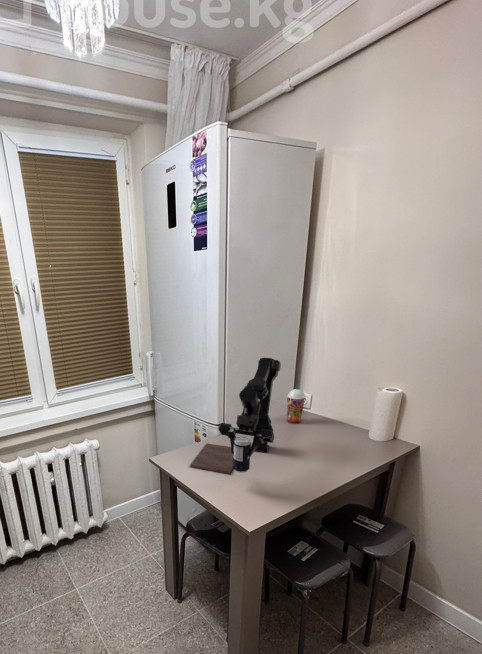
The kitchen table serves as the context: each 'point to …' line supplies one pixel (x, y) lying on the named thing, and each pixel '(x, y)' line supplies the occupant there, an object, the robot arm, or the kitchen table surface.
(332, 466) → the kitchen table surface
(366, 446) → the kitchen table surface
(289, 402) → the smoothie
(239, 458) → the beverage can
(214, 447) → the board
